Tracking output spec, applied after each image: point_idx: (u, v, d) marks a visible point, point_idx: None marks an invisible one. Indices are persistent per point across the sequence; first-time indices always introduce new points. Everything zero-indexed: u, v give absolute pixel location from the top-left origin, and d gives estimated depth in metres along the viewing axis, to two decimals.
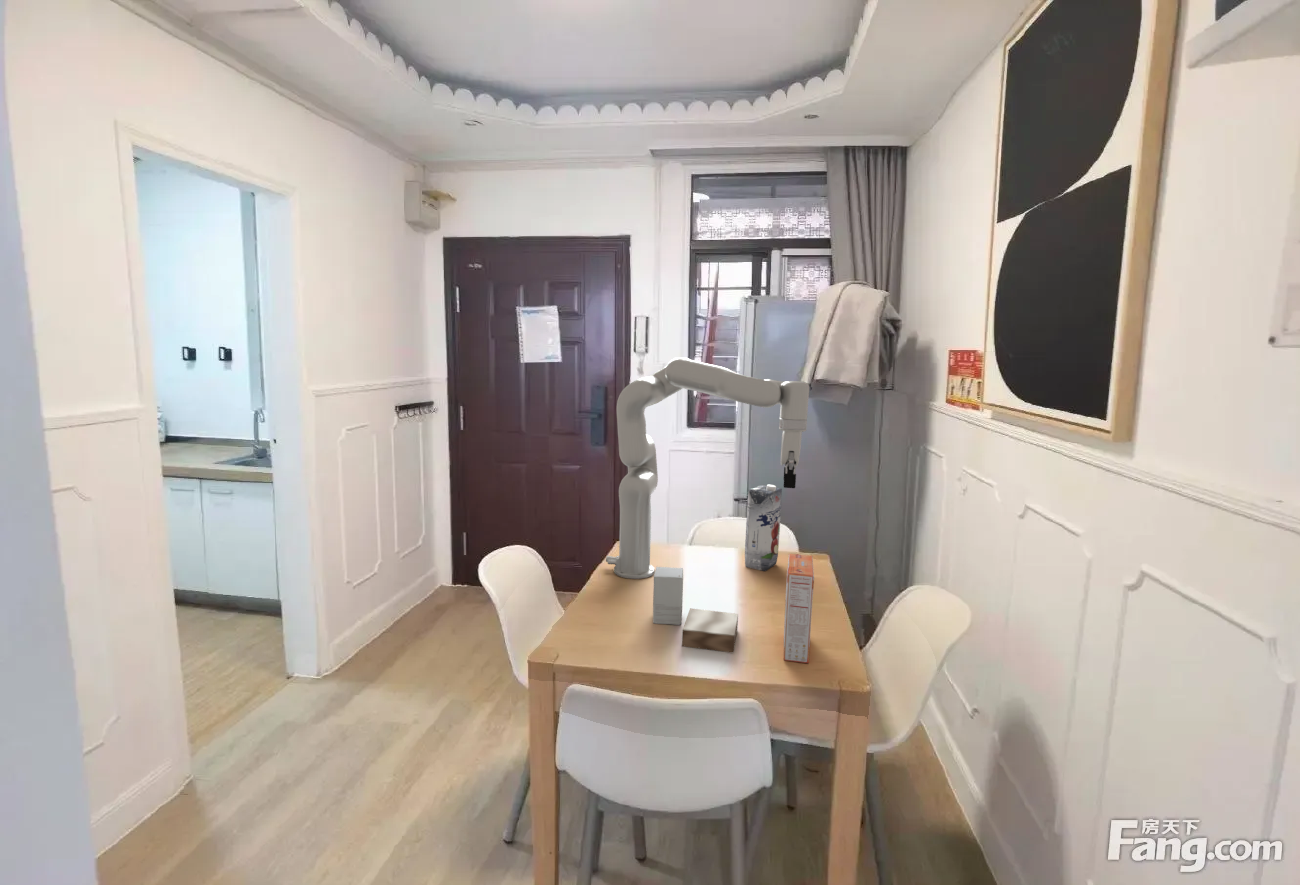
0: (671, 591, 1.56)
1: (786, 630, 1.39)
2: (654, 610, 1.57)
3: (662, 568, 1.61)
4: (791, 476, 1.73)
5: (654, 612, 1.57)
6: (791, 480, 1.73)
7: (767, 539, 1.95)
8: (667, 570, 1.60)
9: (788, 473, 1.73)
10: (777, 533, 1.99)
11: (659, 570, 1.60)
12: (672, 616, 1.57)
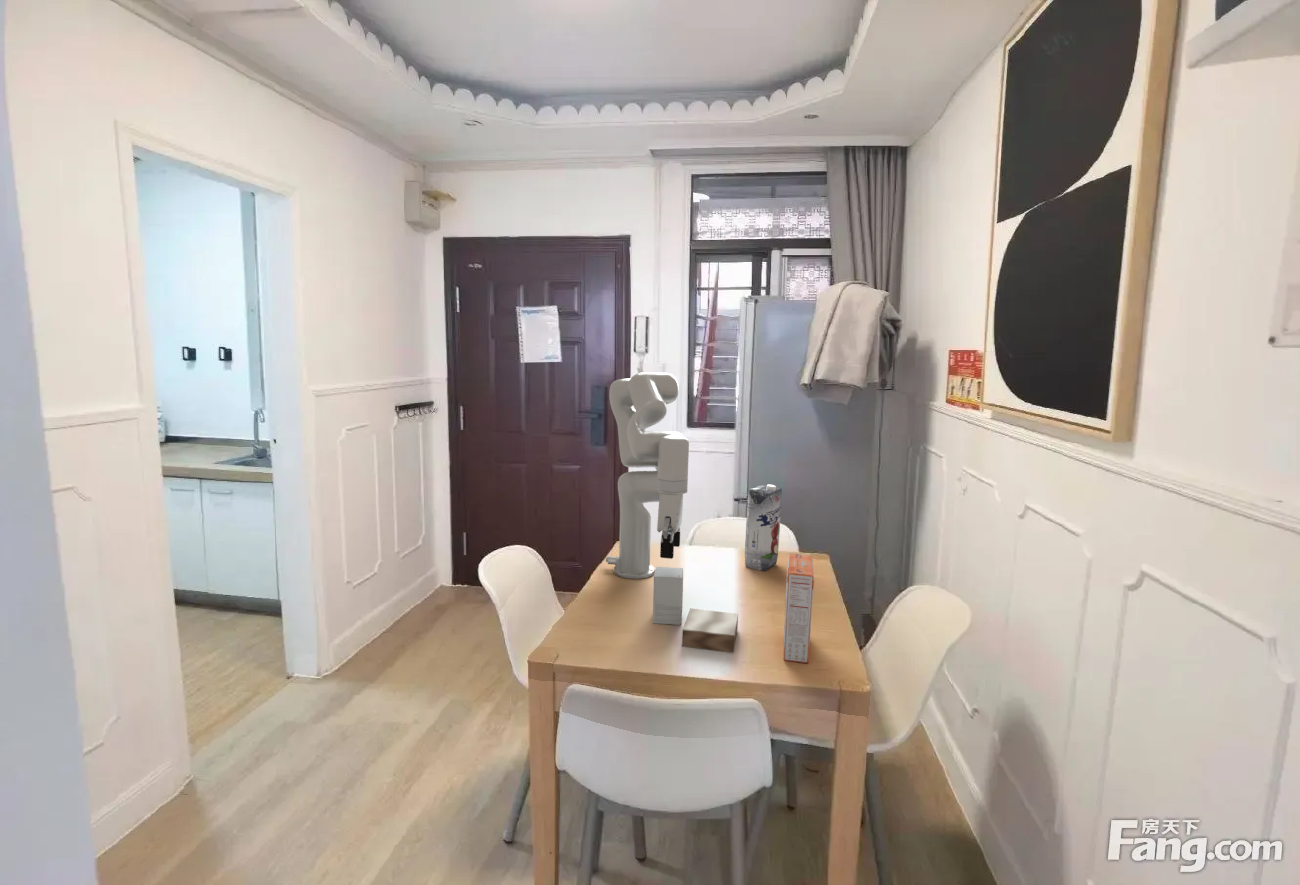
0: (671, 591, 1.56)
1: (786, 630, 1.39)
2: (654, 610, 1.57)
3: (662, 568, 1.61)
4: (667, 545, 1.52)
5: (654, 612, 1.57)
6: (668, 550, 1.52)
7: (767, 539, 1.95)
8: (667, 570, 1.60)
9: (664, 542, 1.51)
10: (777, 533, 1.99)
11: (659, 570, 1.60)
12: (672, 616, 1.57)
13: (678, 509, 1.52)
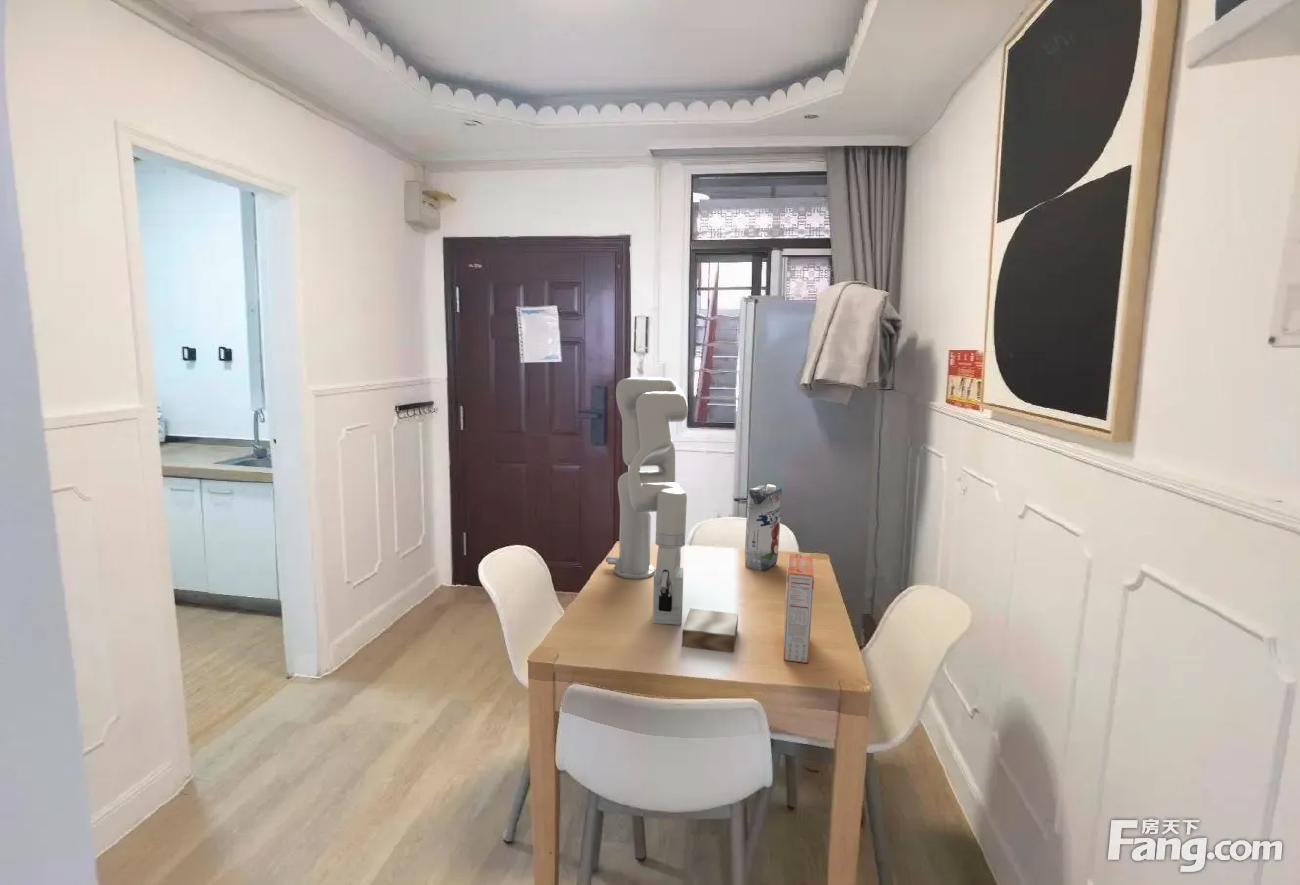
0: (671, 591, 1.56)
1: (786, 630, 1.39)
2: (654, 610, 1.57)
3: None
4: (666, 599, 1.54)
5: (654, 612, 1.57)
6: (666, 603, 1.55)
7: (767, 539, 1.95)
8: None
9: (662, 596, 1.54)
10: (777, 533, 1.99)
11: None
12: (672, 616, 1.57)
13: (676, 562, 1.55)
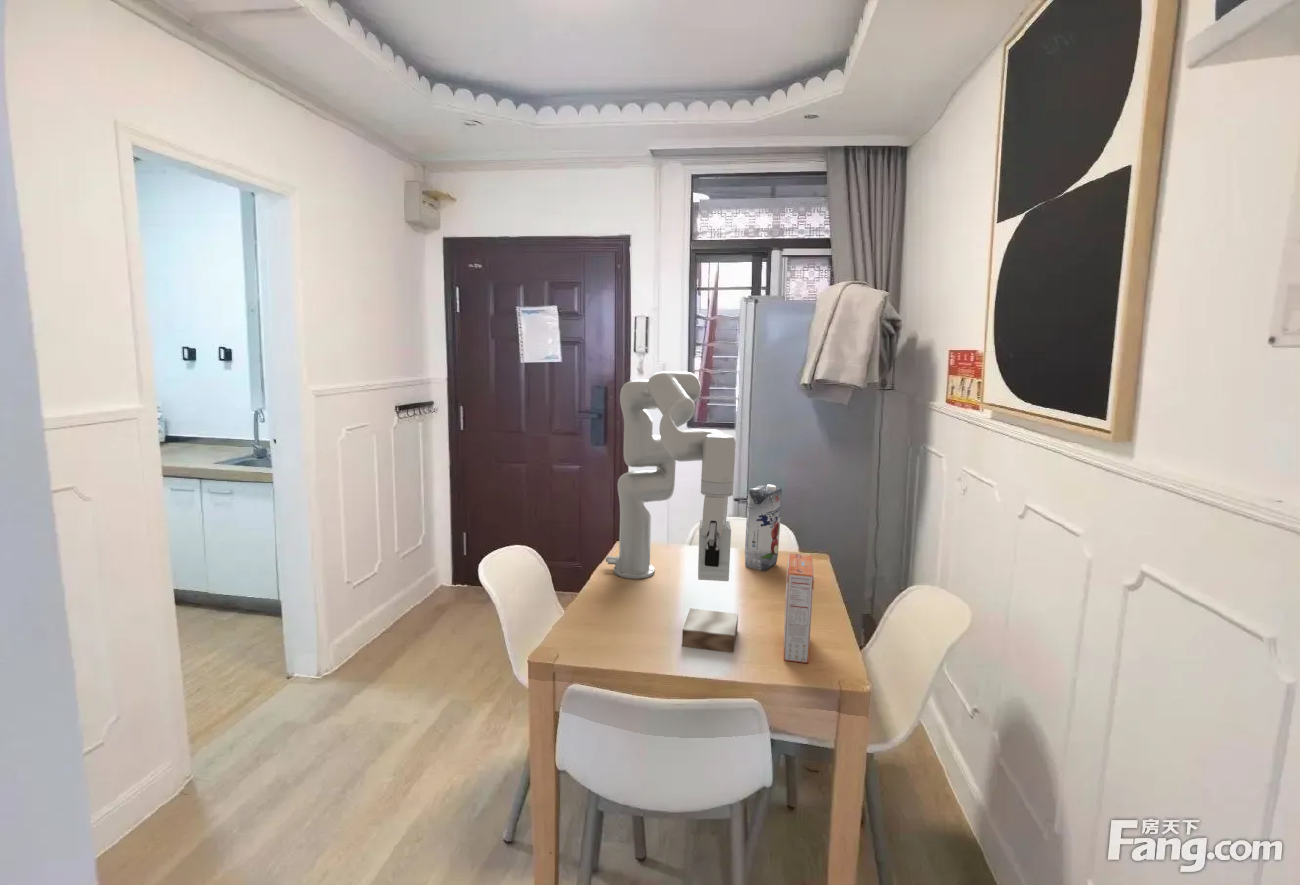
0: (719, 544, 1.43)
1: (786, 630, 1.39)
2: (699, 565, 1.45)
3: None
4: (713, 553, 1.42)
5: (699, 567, 1.45)
6: (713, 557, 1.42)
7: (767, 539, 1.95)
8: None
9: (709, 549, 1.42)
10: (777, 533, 1.99)
11: None
12: (719, 571, 1.44)
13: (724, 513, 1.42)
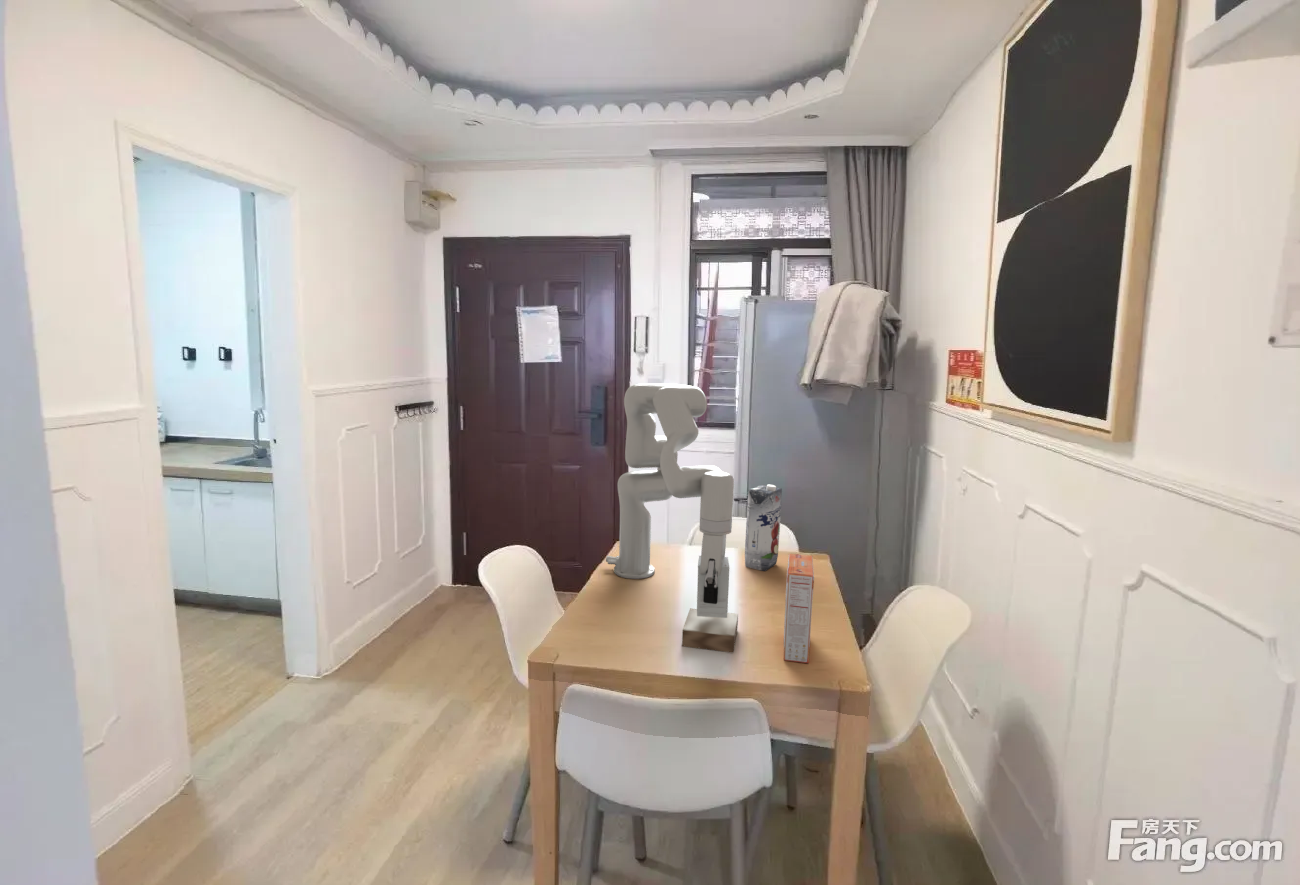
0: (717, 582, 1.45)
1: (786, 630, 1.39)
2: (698, 602, 1.46)
3: None
4: (712, 590, 1.43)
5: (698, 604, 1.46)
6: (712, 595, 1.43)
7: (767, 539, 1.95)
8: None
9: (708, 587, 1.43)
10: (777, 533, 1.99)
11: None
12: (718, 608, 1.45)
13: (722, 551, 1.43)
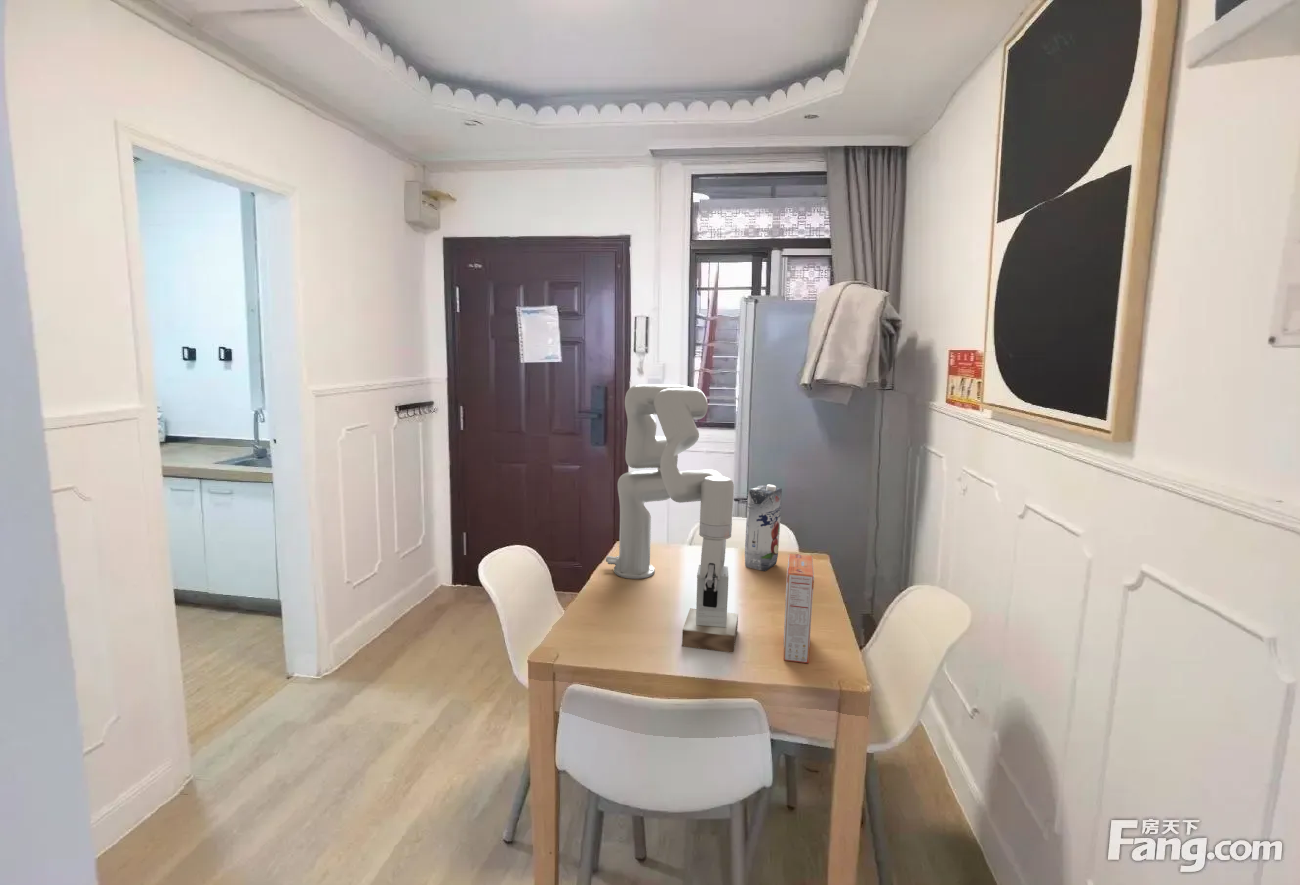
0: None
1: (786, 630, 1.39)
2: (697, 611, 1.47)
3: None
4: (711, 594, 1.43)
5: (697, 613, 1.47)
6: (711, 598, 1.43)
7: (767, 539, 1.95)
8: None
9: (707, 590, 1.43)
10: (777, 533, 1.99)
11: None
12: (717, 617, 1.46)
13: (722, 555, 1.44)
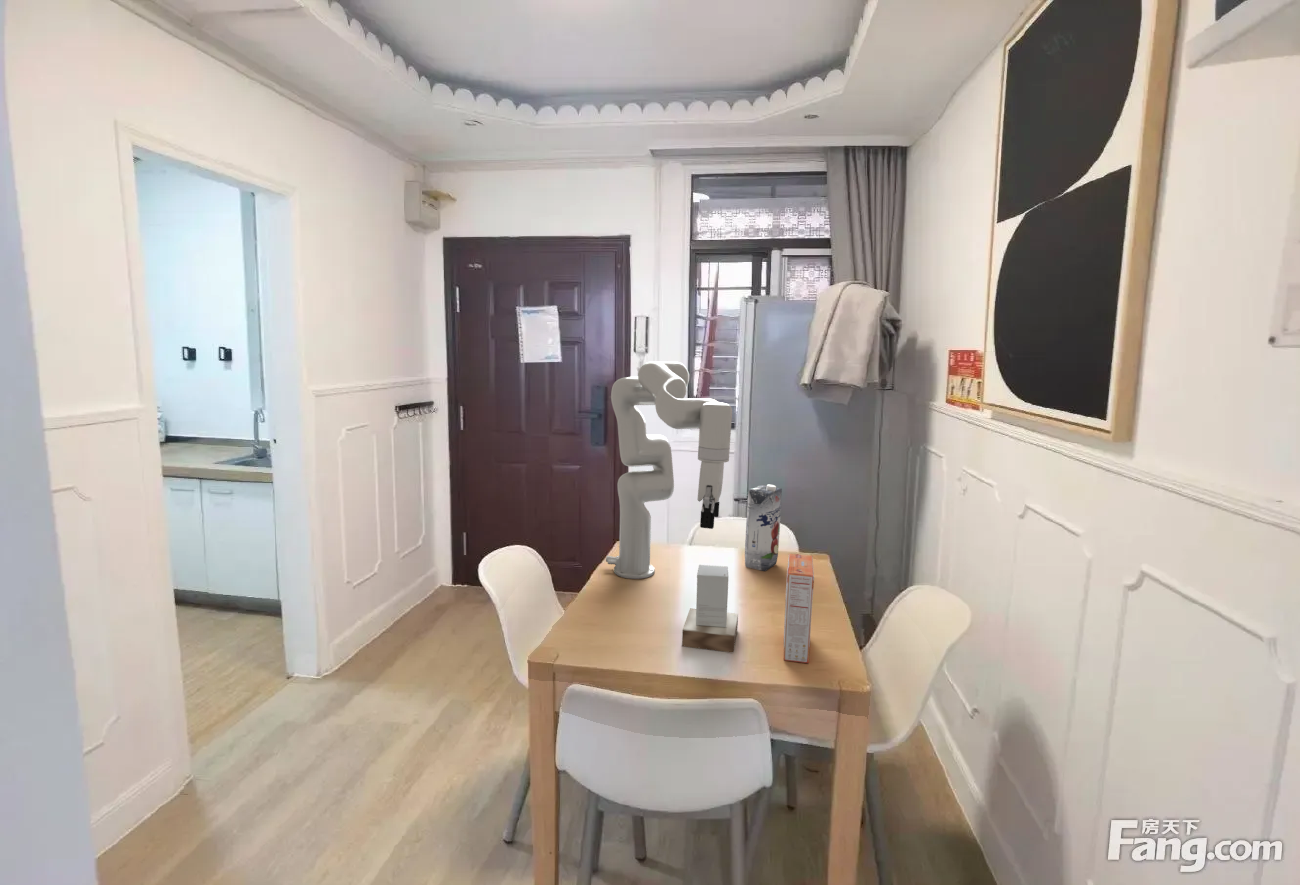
0: (716, 591, 1.45)
1: (786, 630, 1.39)
2: (697, 611, 1.47)
3: (705, 567, 1.50)
4: (708, 515, 1.47)
5: (697, 613, 1.47)
6: (708, 519, 1.47)
7: (767, 539, 1.95)
8: (711, 569, 1.49)
9: (705, 511, 1.47)
10: (777, 533, 1.99)
11: (702, 568, 1.50)
12: (717, 617, 1.46)
13: (720, 478, 1.48)
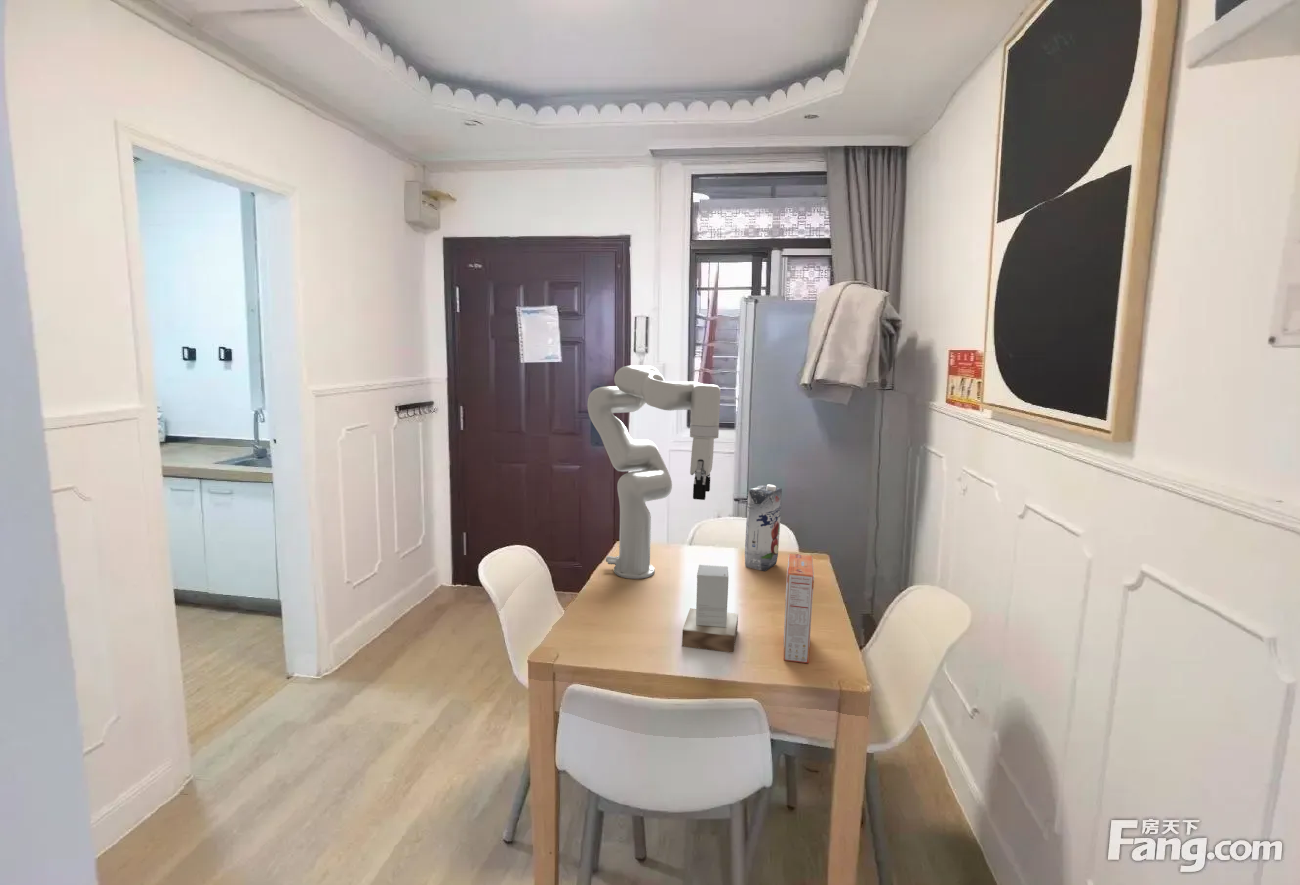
0: (716, 591, 1.45)
1: (786, 630, 1.39)
2: (697, 611, 1.47)
3: (705, 567, 1.50)
4: (700, 487, 1.60)
5: (697, 613, 1.47)
6: (700, 491, 1.60)
7: (767, 539, 1.95)
8: (711, 569, 1.49)
9: (697, 483, 1.60)
10: (777, 533, 1.99)
11: (702, 568, 1.50)
12: (717, 617, 1.46)
13: (710, 453, 1.61)
